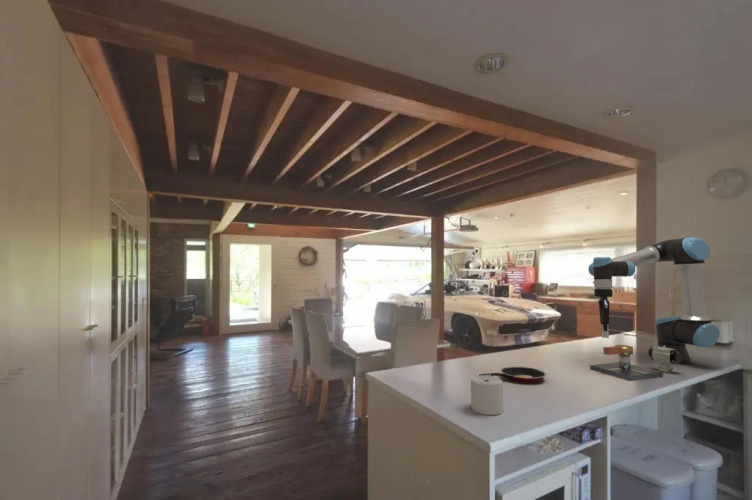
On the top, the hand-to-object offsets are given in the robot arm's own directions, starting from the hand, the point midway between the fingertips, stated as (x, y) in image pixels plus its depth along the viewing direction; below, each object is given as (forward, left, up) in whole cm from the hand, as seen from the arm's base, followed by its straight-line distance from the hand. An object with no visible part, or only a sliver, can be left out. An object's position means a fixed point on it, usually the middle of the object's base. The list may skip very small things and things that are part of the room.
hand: (605, 337), depth 170 cm
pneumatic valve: (-26, +9, -16) cm, 32 cm away
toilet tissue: (+82, +24, -16) cm, 87 cm away
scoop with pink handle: (-2, +5, -7) cm, 8 cm away
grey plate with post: (-6, +5, -16) cm, 18 cm away
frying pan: (+52, -2, -16) cm, 55 cm away
